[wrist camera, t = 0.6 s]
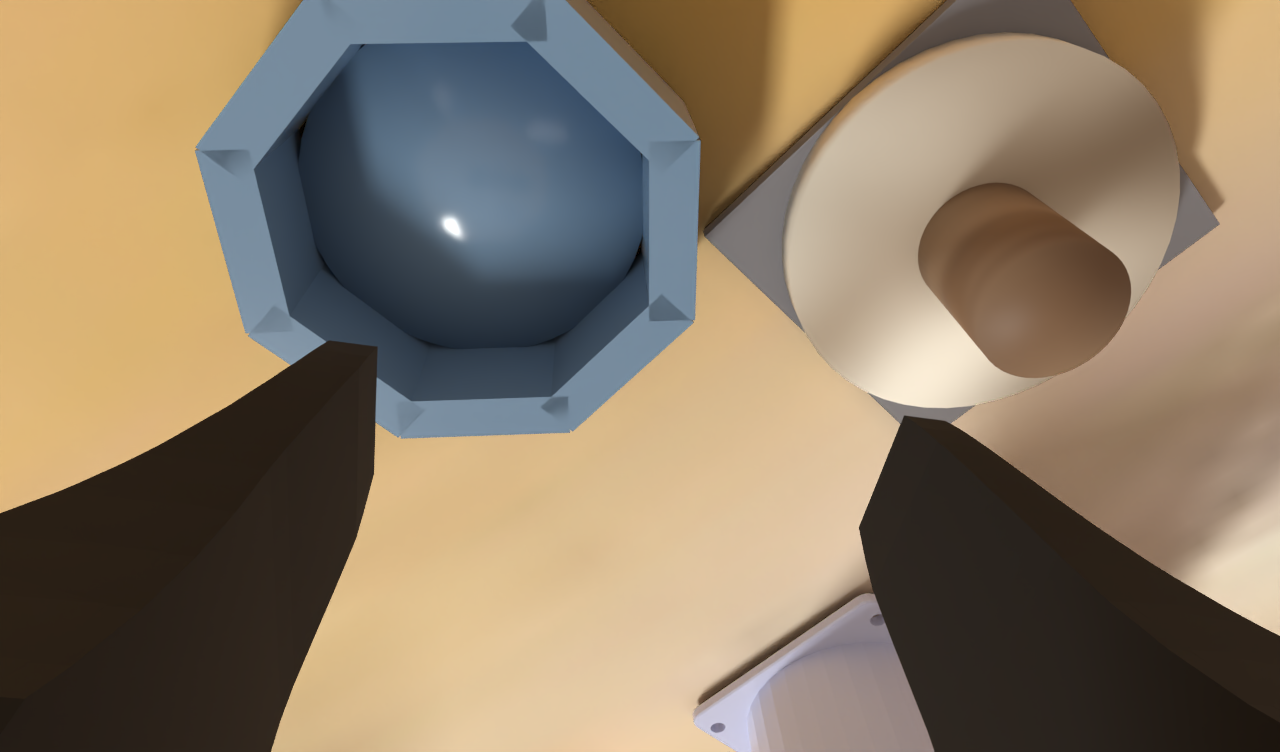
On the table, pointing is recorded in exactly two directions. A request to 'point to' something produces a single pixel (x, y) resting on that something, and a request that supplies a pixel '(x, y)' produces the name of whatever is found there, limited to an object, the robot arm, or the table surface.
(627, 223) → the bowl
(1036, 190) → the lid
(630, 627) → the table surface
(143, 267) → the table surface
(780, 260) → the mat
